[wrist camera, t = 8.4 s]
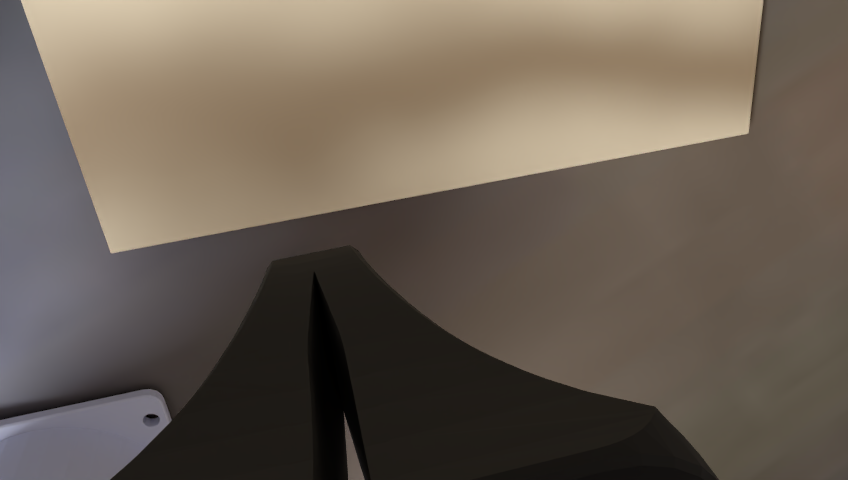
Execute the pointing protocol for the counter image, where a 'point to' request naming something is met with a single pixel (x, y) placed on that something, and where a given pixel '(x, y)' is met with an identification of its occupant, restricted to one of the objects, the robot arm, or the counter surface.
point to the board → (372, 98)
